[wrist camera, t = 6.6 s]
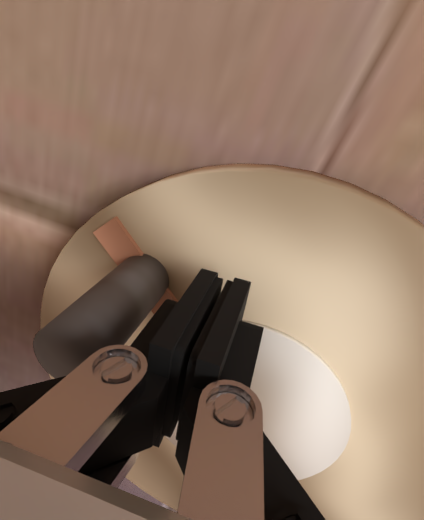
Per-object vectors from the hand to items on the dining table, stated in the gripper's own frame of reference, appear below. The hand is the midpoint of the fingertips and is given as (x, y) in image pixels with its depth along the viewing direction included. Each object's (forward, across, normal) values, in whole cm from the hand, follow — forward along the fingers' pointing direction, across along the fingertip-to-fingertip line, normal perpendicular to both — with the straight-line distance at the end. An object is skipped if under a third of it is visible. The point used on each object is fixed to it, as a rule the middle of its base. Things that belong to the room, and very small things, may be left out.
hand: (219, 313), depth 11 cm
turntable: (+4, -2, +6) cm, 7 cm away
